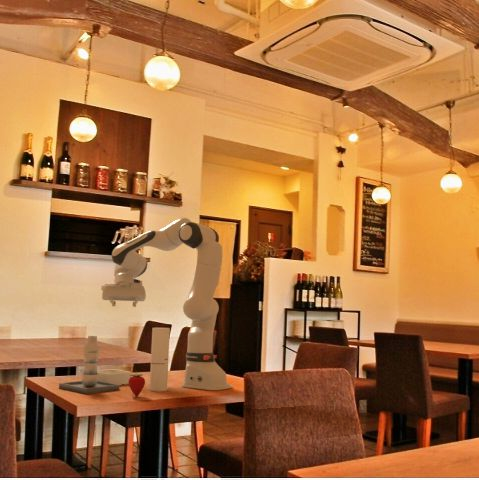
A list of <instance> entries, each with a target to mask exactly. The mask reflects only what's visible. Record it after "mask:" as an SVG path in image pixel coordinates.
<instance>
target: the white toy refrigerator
mask: <svg viewBox="0 0 479 480" xmlns="http://www.w3.org/2000/svg"><path fill="white" fill-rule="evenodd" d="M170 330H171V329H170V327H152V331H151V348H150V353H151V354H150V374H149V390H148V391H151V392H166V391H168V380H169V352H170V334H171V333H170Z"/></svg>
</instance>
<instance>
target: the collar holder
mask: <svg viewBox="0 0 479 480" xmlns="http://www.w3.org/2000/svg"><path fill="white" fill-rule="evenodd" d="M97 375H98V381H102V382H108V383H113V384H118V385H120V386H123V385H122V384H124V385H129V379H130V377H132V376H130V375H132V371H128V370H121V369H116V368H111V369H100V370H99V369H97Z"/></svg>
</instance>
